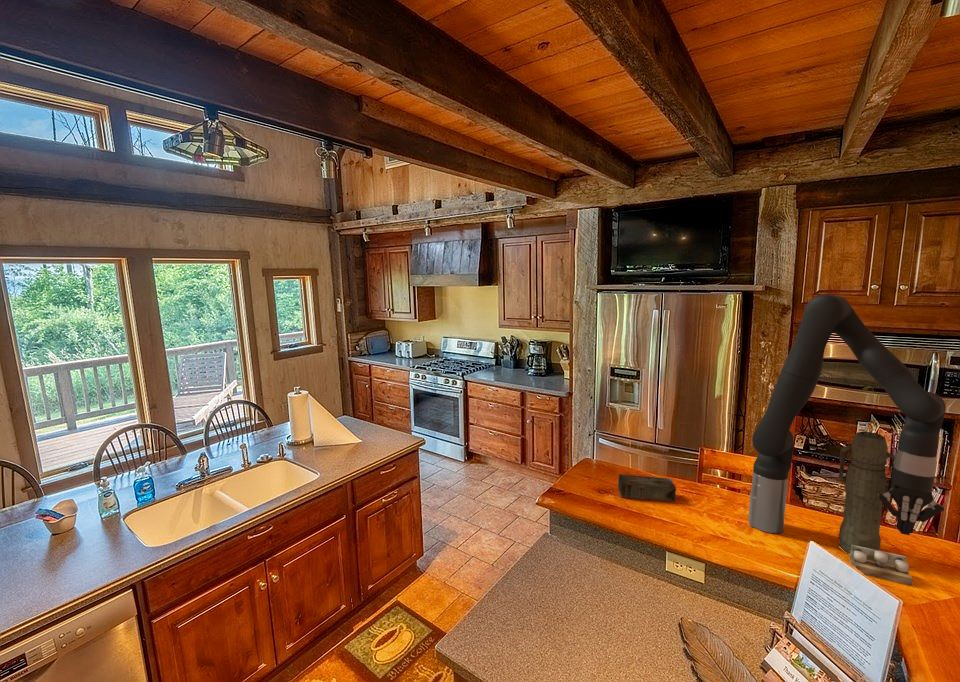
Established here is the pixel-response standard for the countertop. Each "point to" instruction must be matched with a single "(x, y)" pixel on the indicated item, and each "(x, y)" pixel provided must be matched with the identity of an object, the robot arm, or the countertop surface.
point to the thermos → (863, 490)
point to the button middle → (880, 558)
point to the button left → (860, 556)
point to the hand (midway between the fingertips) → (904, 533)
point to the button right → (901, 566)
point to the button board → (883, 573)
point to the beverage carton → (646, 487)
